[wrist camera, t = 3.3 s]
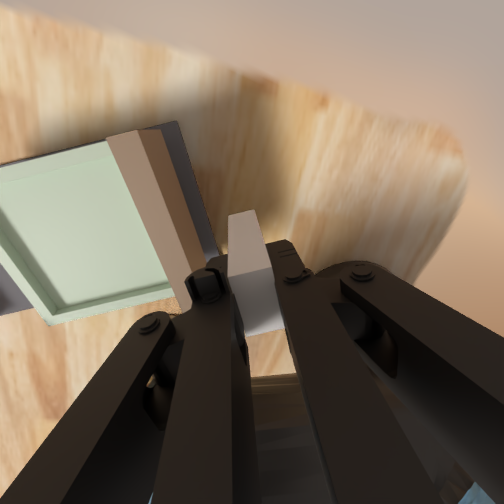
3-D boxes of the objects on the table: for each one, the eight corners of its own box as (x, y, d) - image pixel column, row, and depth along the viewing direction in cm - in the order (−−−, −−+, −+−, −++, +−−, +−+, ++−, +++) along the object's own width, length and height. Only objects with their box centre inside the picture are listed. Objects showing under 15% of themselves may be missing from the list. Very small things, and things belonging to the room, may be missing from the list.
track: (177, 120, 23) (169, 119, 20) (221, 261, 30) (220, 276, 27) (-135, 200, 24) (-187, 210, 21) (-25, 320, 31) (-53, 341, 28)
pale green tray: (166, 129, 23) (136, 129, 16) (211, 261, 29) (205, 308, 22) (-1, 172, 24) (-109, 192, 16) (77, 293, 30) (26, 350, 22)
